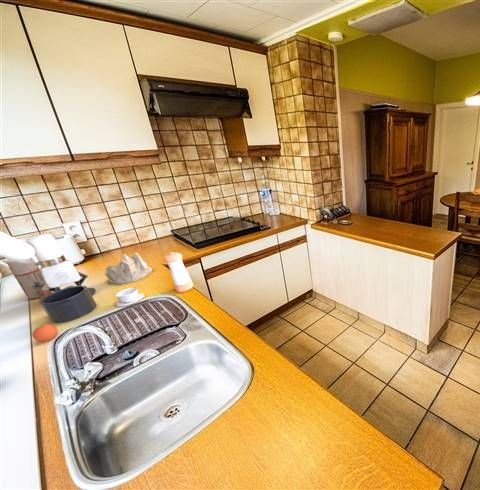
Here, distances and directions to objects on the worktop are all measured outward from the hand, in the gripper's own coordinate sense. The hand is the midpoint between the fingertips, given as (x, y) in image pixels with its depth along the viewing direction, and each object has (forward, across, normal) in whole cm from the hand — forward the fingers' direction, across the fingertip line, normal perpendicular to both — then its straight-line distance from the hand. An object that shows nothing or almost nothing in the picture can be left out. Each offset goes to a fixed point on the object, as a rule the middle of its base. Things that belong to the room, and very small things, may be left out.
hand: (73, 295), depth 125 cm
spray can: (+2, -12, +19) cm, 23 cm away
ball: (-1, -7, -33) cm, 34 cm away
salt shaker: (+2, +38, -33) cm, 50 cm away
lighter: (+2, -9, +10) cm, 14 cm away
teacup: (+2, +18, -25) cm, 31 cm away
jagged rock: (+2, +22, +5) cm, 23 cm away
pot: (+2, 0, -17) cm, 17 cm away
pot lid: (+1, 0, 0) cm, 1 cm away
